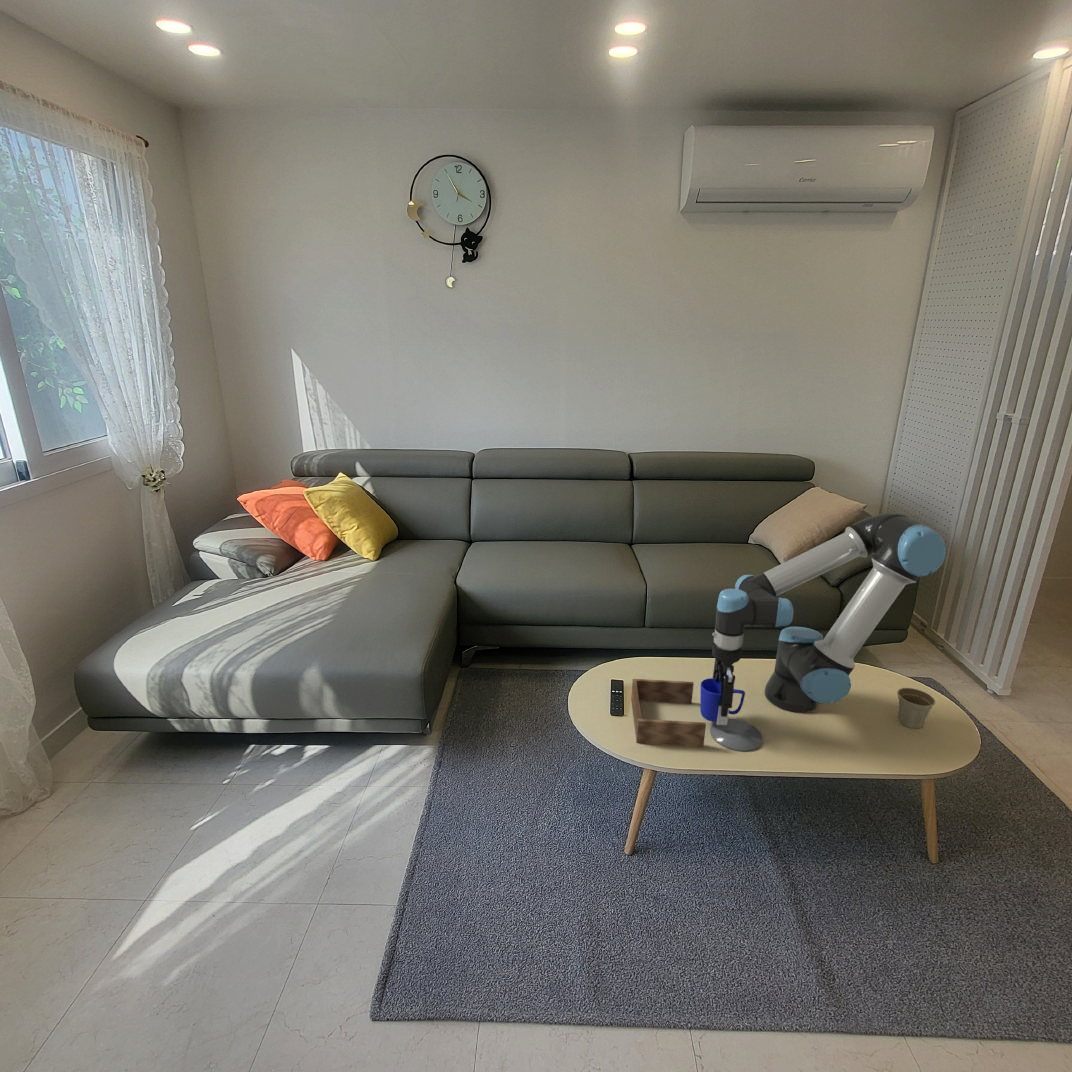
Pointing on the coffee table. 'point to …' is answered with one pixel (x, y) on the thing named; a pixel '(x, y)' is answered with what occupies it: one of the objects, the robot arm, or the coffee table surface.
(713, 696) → the mug
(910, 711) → the flower pot
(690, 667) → the coffee table surface
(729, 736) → the grey round disc
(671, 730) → the u-shaped wooden frame
